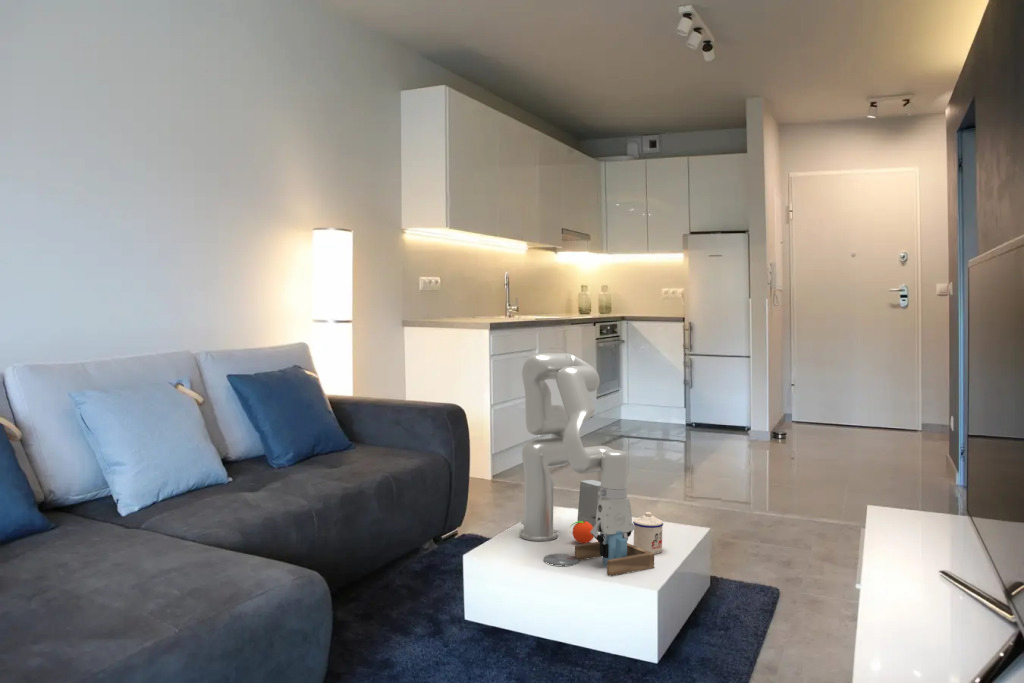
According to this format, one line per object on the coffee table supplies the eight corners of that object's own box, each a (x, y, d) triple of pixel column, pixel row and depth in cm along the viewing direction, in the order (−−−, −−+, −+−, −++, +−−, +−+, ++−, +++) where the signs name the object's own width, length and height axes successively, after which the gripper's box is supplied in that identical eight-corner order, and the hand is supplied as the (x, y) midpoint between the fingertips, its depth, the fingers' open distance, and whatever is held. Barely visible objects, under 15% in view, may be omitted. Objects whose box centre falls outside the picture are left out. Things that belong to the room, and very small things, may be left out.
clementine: (570, 546, 234) (570, 523, 233) (567, 539, 240) (568, 517, 240) (595, 546, 234) (596, 523, 234) (592, 540, 241) (593, 518, 241)
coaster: (537, 558, 220) (537, 556, 220) (565, 553, 226) (565, 551, 226) (556, 568, 212) (556, 566, 212) (584, 563, 217) (584, 561, 217)
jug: (598, 562, 218) (598, 527, 218) (614, 559, 221) (615, 525, 221) (615, 570, 211) (615, 534, 211) (632, 567, 214) (632, 532, 214)
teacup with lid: (656, 556, 224) (657, 517, 224) (628, 551, 229) (628, 513, 229) (670, 546, 234) (670, 509, 234) (642, 542, 239) (643, 505, 239)
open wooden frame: (574, 559, 221) (574, 545, 221) (616, 551, 228) (616, 538, 228) (610, 576, 206) (610, 561, 206) (654, 567, 214) (654, 553, 214)
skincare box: (576, 527, 256) (577, 481, 256) (590, 523, 261) (591, 478, 261) (595, 532, 250) (596, 485, 250) (609, 528, 255) (610, 482, 254)
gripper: (596, 498, 209) (595, 563, 209) (645, 493, 217) (644, 554, 218) (581, 493, 216) (580, 555, 216) (629, 488, 224) (628, 548, 224)
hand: (612, 554), depth 217 cm, fingers closed on jug, 5 cm apart
